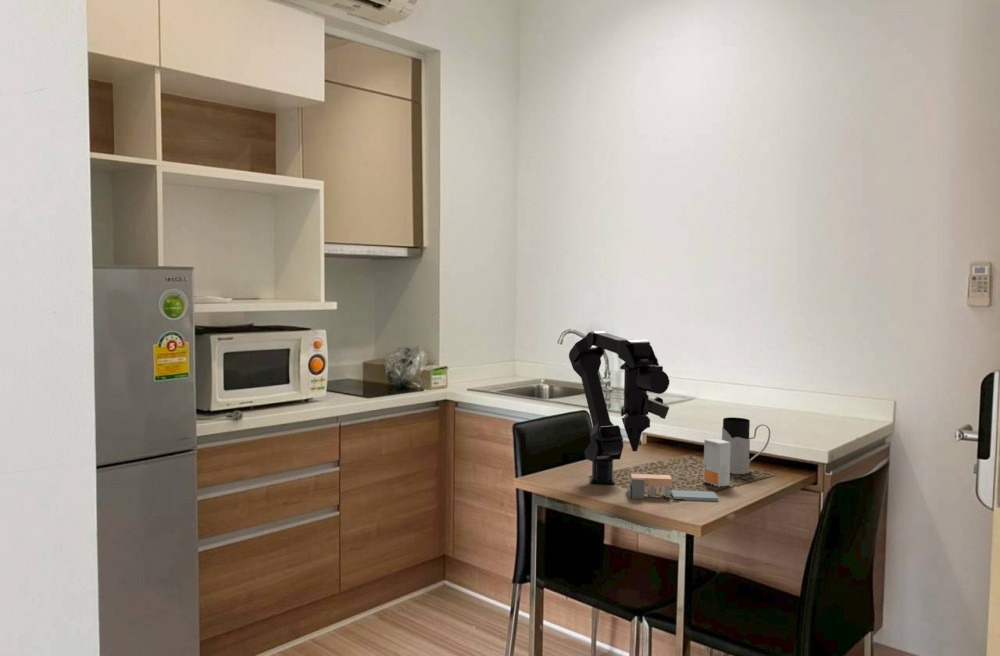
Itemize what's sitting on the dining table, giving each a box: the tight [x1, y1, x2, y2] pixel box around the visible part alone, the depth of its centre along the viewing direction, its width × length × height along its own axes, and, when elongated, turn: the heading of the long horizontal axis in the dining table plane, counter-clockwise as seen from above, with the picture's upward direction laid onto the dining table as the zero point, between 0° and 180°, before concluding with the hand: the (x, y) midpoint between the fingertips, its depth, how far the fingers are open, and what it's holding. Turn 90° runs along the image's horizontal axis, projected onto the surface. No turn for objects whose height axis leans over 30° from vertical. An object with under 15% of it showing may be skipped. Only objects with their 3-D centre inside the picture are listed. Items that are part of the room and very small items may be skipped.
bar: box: [630, 473, 673, 488], centre depth 200 cm, size 4×10×2 cm, turn 84°
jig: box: [626, 471, 671, 500], centre depth 201 cm, size 7×10×5 cm
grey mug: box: [721, 416, 771, 475], centre depth 228 cm, size 9×14×15 cm, turn 87°
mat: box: [670, 489, 719, 502], centre depth 199 cm, size 6×11×1 cm, turn 84°
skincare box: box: [702, 437, 731, 488], centre depth 213 cm, size 6×4×12 cm
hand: (634, 448), depth 200 cm, fingers open, 5 cm apart
